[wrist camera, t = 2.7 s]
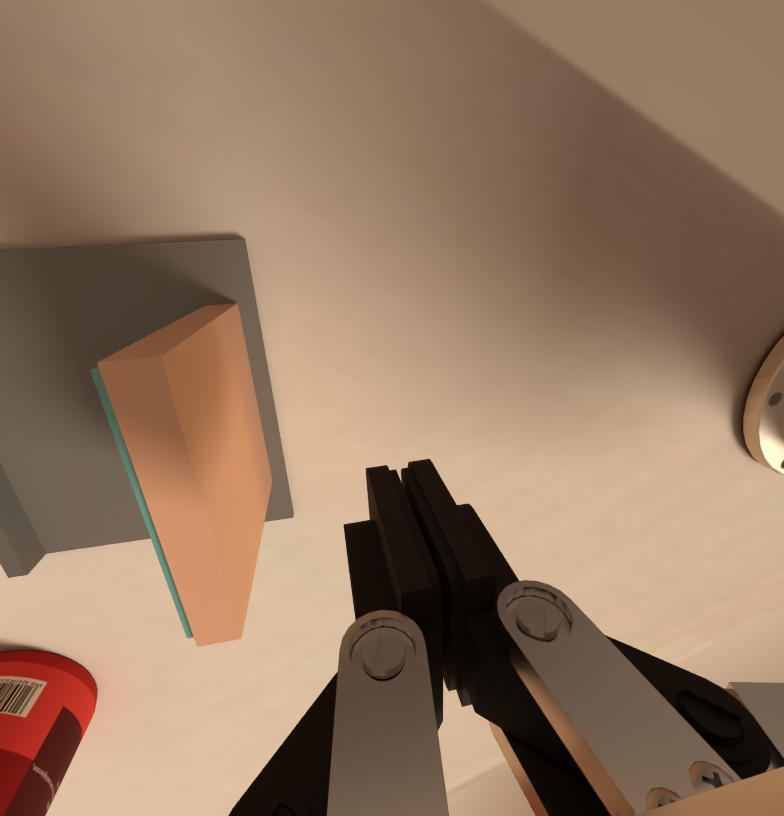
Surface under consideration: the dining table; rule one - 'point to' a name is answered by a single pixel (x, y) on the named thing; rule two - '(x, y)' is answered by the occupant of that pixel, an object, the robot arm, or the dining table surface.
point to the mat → (75, 389)
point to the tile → (194, 461)
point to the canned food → (39, 726)
